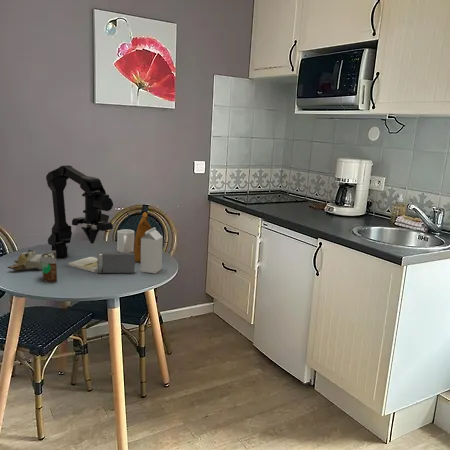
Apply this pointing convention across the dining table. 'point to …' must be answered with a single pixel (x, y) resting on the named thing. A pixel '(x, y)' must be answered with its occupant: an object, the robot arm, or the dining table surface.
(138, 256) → the coffee package
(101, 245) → the dining table surface
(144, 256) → the milk carton
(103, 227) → the robot arm
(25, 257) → the ceramic sculpture
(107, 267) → the swing panel
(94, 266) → the label board
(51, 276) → the food container
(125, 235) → the mug
